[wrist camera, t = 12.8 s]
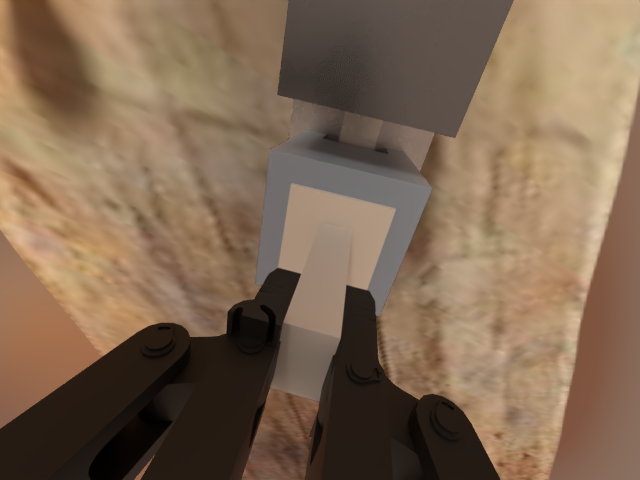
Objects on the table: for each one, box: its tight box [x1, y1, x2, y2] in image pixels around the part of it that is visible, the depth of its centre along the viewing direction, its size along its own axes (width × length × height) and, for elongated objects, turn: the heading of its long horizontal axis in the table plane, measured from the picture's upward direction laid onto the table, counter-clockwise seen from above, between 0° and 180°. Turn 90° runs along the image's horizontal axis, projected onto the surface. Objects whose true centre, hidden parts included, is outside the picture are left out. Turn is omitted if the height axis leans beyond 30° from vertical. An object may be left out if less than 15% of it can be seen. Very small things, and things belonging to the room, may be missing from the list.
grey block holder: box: [278, 0, 514, 171], centre depth 18 cm, size 30×10×10 cm, turn 168°
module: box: [255, 130, 432, 316], centre depth 17 cm, size 8×7×9 cm
